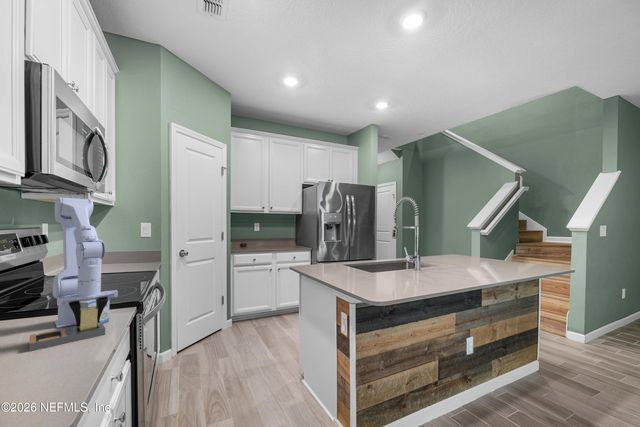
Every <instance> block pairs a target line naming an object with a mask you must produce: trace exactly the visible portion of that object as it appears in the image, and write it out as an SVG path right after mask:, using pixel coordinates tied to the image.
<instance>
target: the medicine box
mask: <svg viewBox="0 0 640 427" xmlns="http://www.w3.org/2000/svg"><path fill="white" fill-rule="evenodd" d="M110 298H111V297H109V298H108V302H107V304H106V306H105V308H104V309H103V312H102V314H101V317H100V321H99V322H101V323H102V324H103V325H104V324H106V323H108V322H109V321H110V301H111V300H110ZM80 305H81V308H86V307H92V306H96V299H95V300H89V301H82V302H80Z"/></svg>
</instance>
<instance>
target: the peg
mask: <svg viewBox="0 0 640 427" xmlns="http://www.w3.org/2000/svg"><path fill="white" fill-rule="evenodd" d="M97 313H98V308H97V307H96V306H92V307H86V308H80V326H79V332H82V331H87V330H92V329H97Z"/></svg>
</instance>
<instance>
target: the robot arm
mask: <svg viewBox="0 0 640 427" xmlns="http://www.w3.org/2000/svg"><path fill="white" fill-rule="evenodd" d="M93 212H94V202H93V200H92V199H91V198H76V197H61V196H58V197H57V198H55V201H54V219H55V222H56V223H58V224H61V228H62V241H63V243H62V244H63V270H61V271H60V272H58V273H57V274H56V275H54V277H53V282H52V296H53V297H54V298H55V299H56V305H57V319H55V320H54V323H55V327H56V328H57V329H61V328H64V327H70V326H74V325H75V327H79V326H80V308H81V305H80V302H82V301H89V300H95V299H96V307H97V308H98V313H97V323H99V321H100V317H101V314H102V312H103V309H104V308H105V306H106V304H107V302H108V298H117V297H118V296H119V295H118V292H119V291H118V290H117V289H113V290H104V291H101V290H102V288H101V287H102V264H103V263H102V261H103V259H104V258H105V255H106V245H105V241H103V240H102V239H99V236H98V233H97V229H96V228H95V226H93V225H91V224H90V217H91V216H92V214H93Z"/></svg>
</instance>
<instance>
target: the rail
mask: <svg viewBox="0 0 640 427" xmlns="http://www.w3.org/2000/svg"><path fill="white" fill-rule="evenodd" d="M105 335H106V326H104V323H103V324H102V323H101V322H99V323H97V329H92V330H87V331H82V332H79V327H77V326H74V327H69V328H59V329H56V330H55V329H54V330H50V331H49V330H48V331H44V332H39V333H38V334H35V333H34V334H30V335H29V344H28V345H29V346H28V347H29V352H32V351H36V350H42V349H47V348H50V347H54V346H55V347H56V346H60V345H64V344H69V343H74V342H78V341H83V340H87V339H91V338H95V337H100V336H105Z"/></svg>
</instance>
